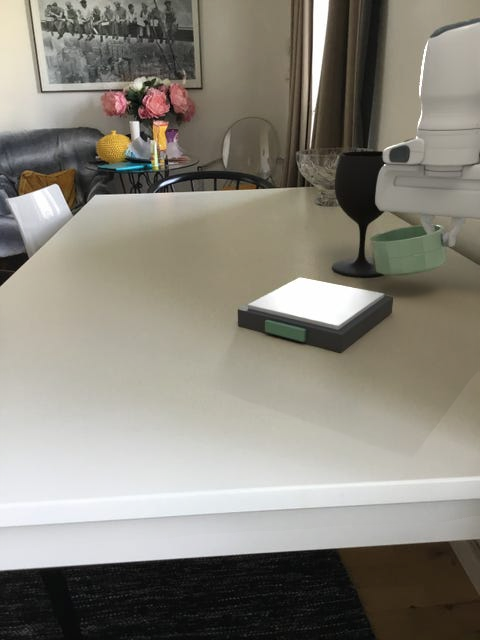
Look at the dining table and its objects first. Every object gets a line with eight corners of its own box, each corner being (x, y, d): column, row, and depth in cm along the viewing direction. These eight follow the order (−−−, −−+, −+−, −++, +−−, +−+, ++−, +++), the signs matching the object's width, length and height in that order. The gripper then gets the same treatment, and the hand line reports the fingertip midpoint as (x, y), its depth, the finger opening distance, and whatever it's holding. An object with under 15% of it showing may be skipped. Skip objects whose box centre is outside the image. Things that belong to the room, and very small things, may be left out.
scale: (392, 312, 82) (393, 292, 81) (338, 355, 70) (339, 331, 69) (297, 293, 91) (297, 274, 90) (235, 327, 79) (234, 306, 78)
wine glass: (360, 281, 95) (367, 159, 87) (319, 267, 103) (322, 154, 96) (403, 270, 100) (412, 153, 93) (361, 257, 108) (367, 149, 101)
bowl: (457, 255, 90) (453, 221, 88) (433, 275, 82) (428, 238, 80) (391, 260, 97) (387, 228, 95) (363, 278, 89) (358, 244, 87)
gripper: (534, 147, 76) (520, 247, 81) (389, 145, 88) (385, 233, 93) (523, 153, 72) (509, 259, 77) (372, 150, 83) (369, 242, 88)
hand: (440, 244), depth 85 cm, fingers closed on bowl
